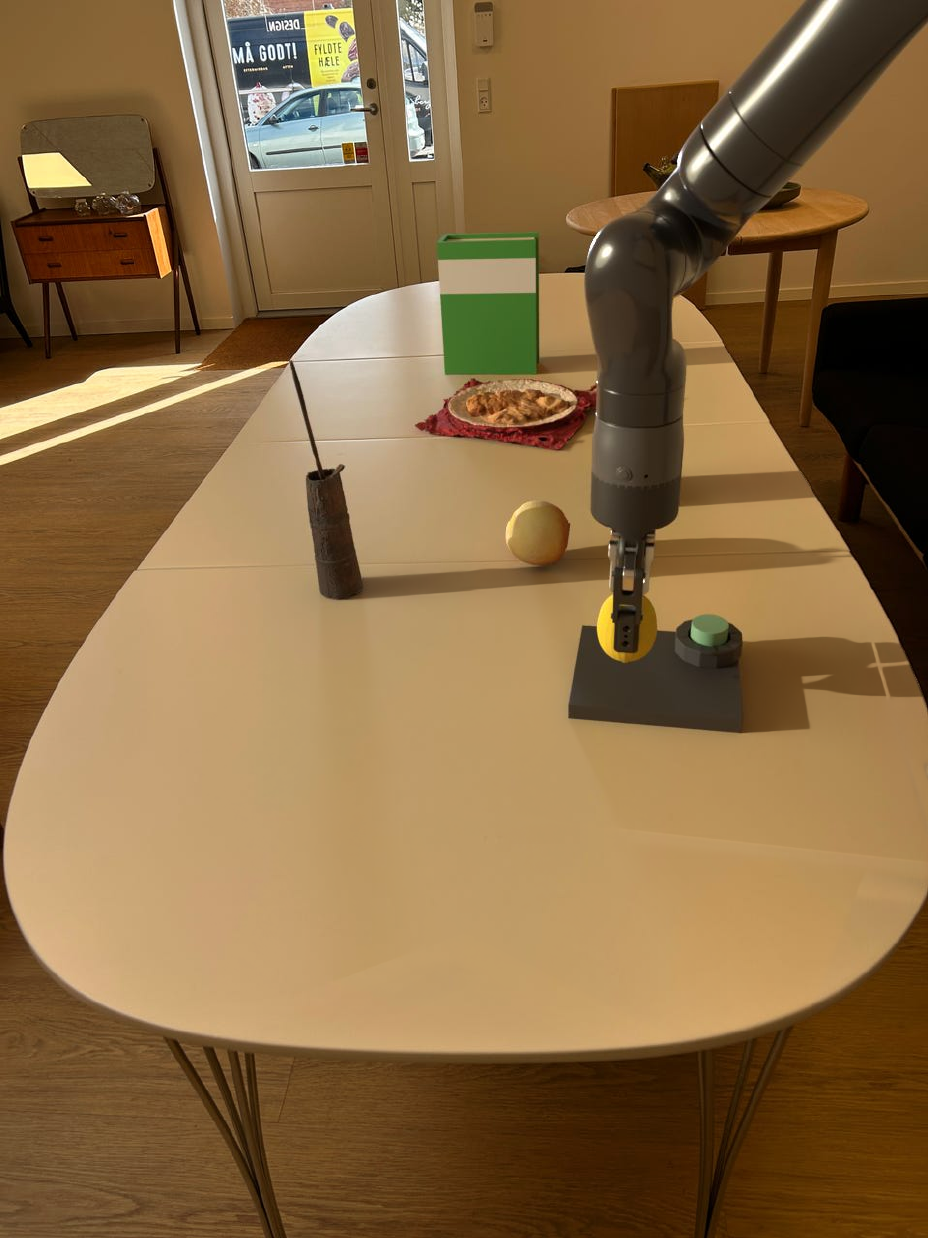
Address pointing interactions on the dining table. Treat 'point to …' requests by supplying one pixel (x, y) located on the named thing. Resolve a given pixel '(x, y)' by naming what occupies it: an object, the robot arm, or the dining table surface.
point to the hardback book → (489, 302)
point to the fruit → (538, 533)
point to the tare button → (709, 630)
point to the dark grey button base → (661, 683)
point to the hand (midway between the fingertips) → (627, 631)
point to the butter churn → (329, 523)
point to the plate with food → (513, 412)
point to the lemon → (645, 631)
